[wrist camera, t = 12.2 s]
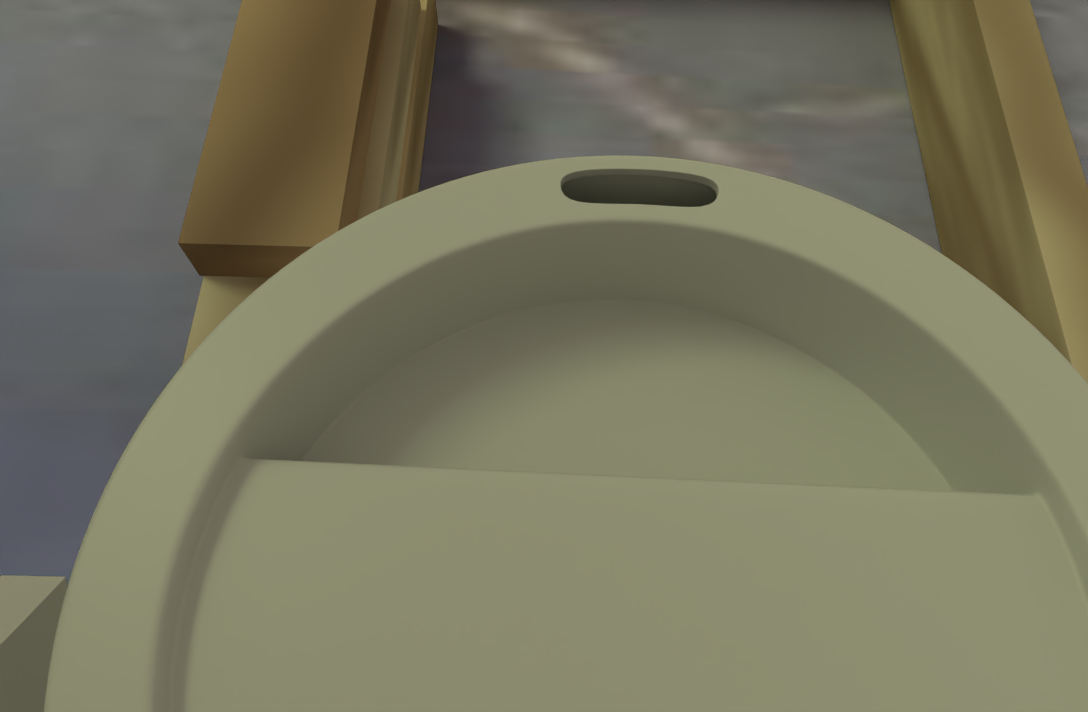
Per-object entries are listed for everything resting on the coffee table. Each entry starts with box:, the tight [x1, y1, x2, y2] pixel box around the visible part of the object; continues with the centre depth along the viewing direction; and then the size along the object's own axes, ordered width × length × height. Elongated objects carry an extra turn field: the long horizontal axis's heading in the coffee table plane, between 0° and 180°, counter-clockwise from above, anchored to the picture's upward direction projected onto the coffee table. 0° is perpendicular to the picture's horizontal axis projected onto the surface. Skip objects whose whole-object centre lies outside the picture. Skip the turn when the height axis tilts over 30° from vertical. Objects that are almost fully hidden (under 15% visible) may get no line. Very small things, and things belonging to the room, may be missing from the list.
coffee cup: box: [44, 156, 1088, 712], centre depth 13 cm, size 10×10×15 cm
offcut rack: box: [889, 0, 1088, 383], centre depth 25 cm, size 22×22×4 cm
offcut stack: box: [178, 0, 438, 365], centre depth 24 cm, size 4×16×5 cm, turn 178°
